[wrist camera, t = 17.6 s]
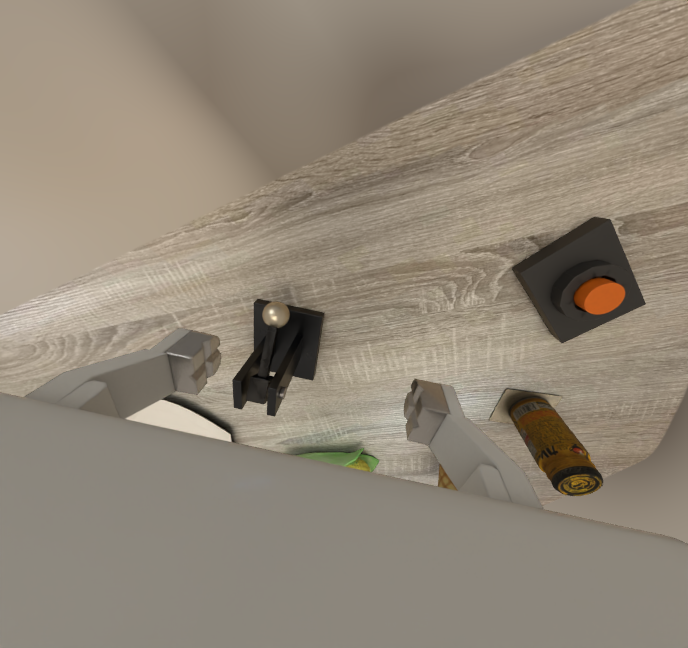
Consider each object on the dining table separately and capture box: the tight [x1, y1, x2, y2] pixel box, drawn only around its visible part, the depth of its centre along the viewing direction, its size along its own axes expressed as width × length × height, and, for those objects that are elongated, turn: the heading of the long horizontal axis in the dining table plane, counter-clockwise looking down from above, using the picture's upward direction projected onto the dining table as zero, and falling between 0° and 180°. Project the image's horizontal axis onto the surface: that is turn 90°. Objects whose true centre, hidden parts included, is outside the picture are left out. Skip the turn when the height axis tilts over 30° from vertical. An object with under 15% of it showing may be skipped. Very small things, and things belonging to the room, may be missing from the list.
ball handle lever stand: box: [233, 299, 324, 416], centre depth 35 cm, size 12×10×13 cm
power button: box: [574, 278, 625, 315], centre depth 27 cm, size 4×4×2 cm
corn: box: [296, 448, 379, 472], centre depth 50 cm, size 8×8×20 cm
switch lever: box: [246, 302, 290, 404], centre depth 31 cm, size 12×3×3 cm, turn 169°
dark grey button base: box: [512, 217, 646, 343], centre depth 30 cm, size 12×9×4 cm
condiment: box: [490, 389, 603, 496], centre depth 36 cm, size 7×8×12 cm
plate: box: [126, 399, 232, 442], centre depth 55 cm, size 27×27×2 cm
